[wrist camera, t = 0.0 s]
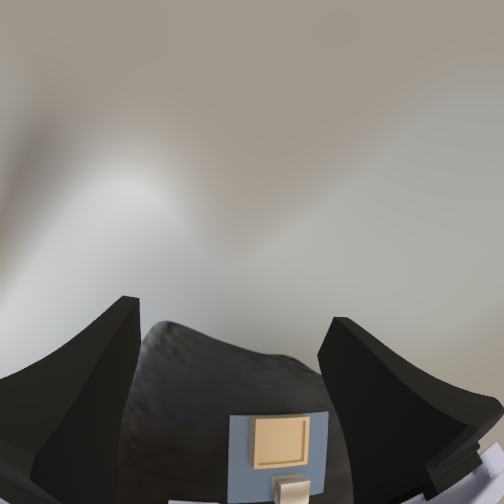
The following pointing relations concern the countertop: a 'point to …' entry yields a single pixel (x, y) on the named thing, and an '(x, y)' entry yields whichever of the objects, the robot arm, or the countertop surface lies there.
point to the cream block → (290, 489)
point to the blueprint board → (262, 477)
